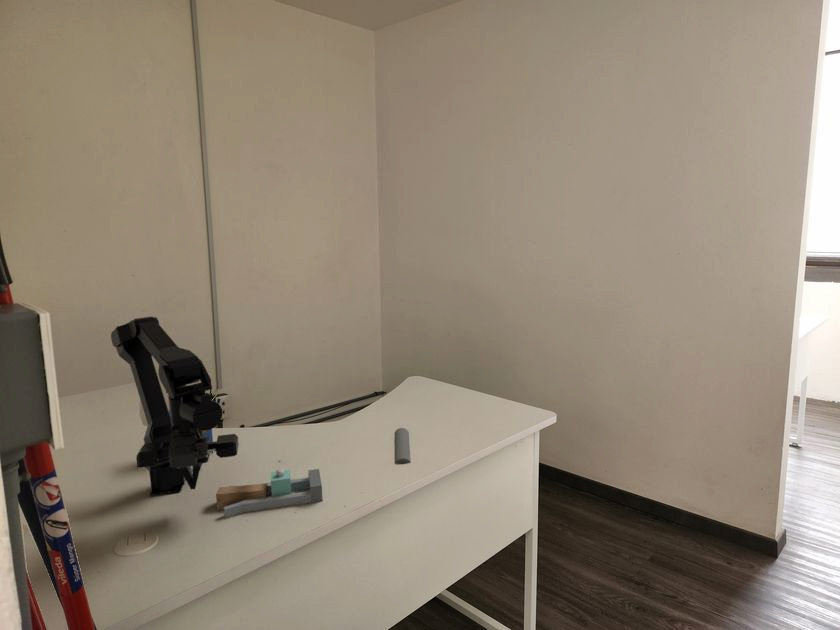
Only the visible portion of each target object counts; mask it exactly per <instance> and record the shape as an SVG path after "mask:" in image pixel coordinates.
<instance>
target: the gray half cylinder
mask: <svg viewBox="0 0 840 630" xmlns="http://www.w3.org/2000/svg"><path fill="white" fill-rule="evenodd" d="M410 447H411V446H410V432H409V430H408V429H407V428H405V427H398V428H397V429H396V430H395V431H394V463H395V464H401V463H403V464H404V463H411V449H410Z"/></svg>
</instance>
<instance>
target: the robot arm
mask: <svg viewBox="0 0 840 630" xmlns="http://www.w3.org/2000/svg"><path fill="white" fill-rule="evenodd" d="M110 339H111V343H112V346H113V347H114V348H116V351H117V354H118V355H117V356H119V357H120V358H121V359H122V360H123V361H125V362H126V363H128V365H129V366H130V370H131V373H132V375H133V379H134V382H135V386H136V390H137V392H138V396H139V400H140V403H141V406H142V409H143V412H144V416H145V419H146V423H147V427H146V430H145V433H144V435H143V436H144V437H143V444H142V446H141V447H140V449H139V451H138V453H137V454H136V460H135V461H136V467H138V468H145V469H146V470H147V471H148V472H149V479H150V491H149V496H159V495H164V494H165V495H166V494H172V493H173V494H174V493H180V492H182V490H183V486H185V484H186V483H187V485H188V488H189V489H190V490H196V487H197V483H198V479H199V475H200V471H201V467H202V466H203V464H206V463H208V462H209V460H210V455H211V454H212V453H211V452H213V451H214V452H215V454H216V456H217V457H218V458H221V459H223V458H231V457H235V456H237V455H238V451H239V445H240V443H239V436H238V435H236V434H235V433H229V434H223V435H222V434H221V435H217V440H216V441H213V442H207V439H206V438H204V437H203V430H204V431H205V430H210V429H212V430H213V429H214V428H215V427H216V426H218V425H219V424H220V422H221V420H222V417H223V409H222V407H221V405H220V404H219V403H218V402H217V401H215V400H213V399H212V397H211V394H210V393H208V392H206V391H210V390H212V389H213V386H212V383H211V382H212V378H211V377H210V375H209V373H208V370H207V369H206V366H205V365H204V363H203V360H201V359H200V358H199V357H198V356H197V355H196V354H195V353H193V352H192V351H191V350H189V349H185V348H181V347H179V346H178V345H177V344H176V343H175V342H174V341H173V339H172V338H171V336H169V335H168V333H167V332H166V331H165V330H164V329H163V327H162V326H161V325H160V321H159V319H158V318H157V317H156V316H145V317H138V318H133V319H131V320H130V321H129V322H127V323H125V324H122V325H118V326H116V327H115V328H114V329H113V330H112V332H110ZM153 359H154V360H155V361H156V363H157V364H158V373H157V370H156V366H155V363H154V361H153ZM199 381H200V382H199ZM161 384H162V386H163V388H164V390H165V392H166V394H167V395H168V404H169V405H168V406H167V403H166V399H165V396H164V392H163V389H162V386H161ZM168 407H169V408H168ZM169 409H170V415H169ZM210 453H211V454H210Z"/></svg>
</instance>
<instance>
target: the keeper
mask: <svg viewBox="0 0 840 630" xmlns="http://www.w3.org/2000/svg"><path fill="white" fill-rule="evenodd" d="M290 480H291V470H290V469H287V470H284V469H277V470H276V471H272V472H270V483H271V491H272V493H271V497H272V496H279V495H286V494H292V490H291V481H290Z"/></svg>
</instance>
